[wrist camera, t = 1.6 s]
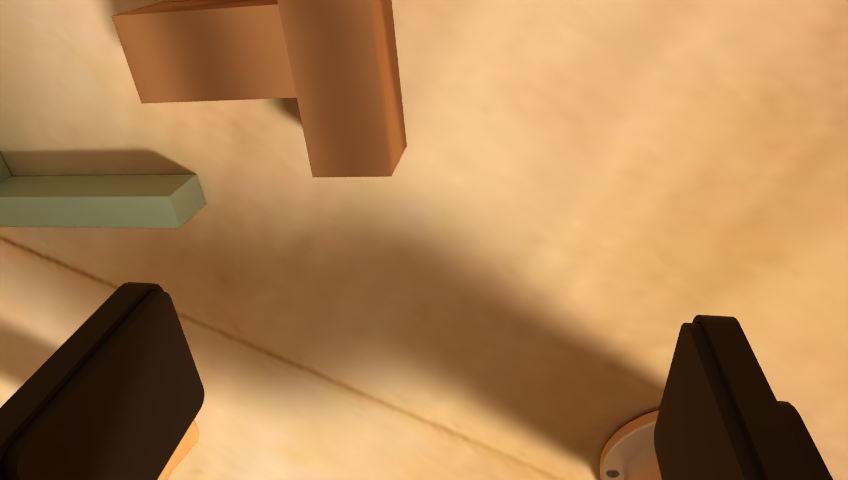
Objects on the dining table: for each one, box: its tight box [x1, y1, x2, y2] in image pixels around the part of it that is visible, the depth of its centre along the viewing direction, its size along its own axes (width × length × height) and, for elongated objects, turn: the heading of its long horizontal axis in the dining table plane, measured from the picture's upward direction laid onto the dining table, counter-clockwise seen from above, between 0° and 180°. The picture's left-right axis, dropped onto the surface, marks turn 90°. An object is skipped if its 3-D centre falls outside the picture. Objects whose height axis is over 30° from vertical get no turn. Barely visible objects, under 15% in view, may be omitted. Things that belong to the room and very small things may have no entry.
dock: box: [0, 154, 206, 228], centre depth 30 cm, size 15×19×3 cm
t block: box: [112, 0, 407, 177], centre depth 27 cm, size 12×12×4 cm
